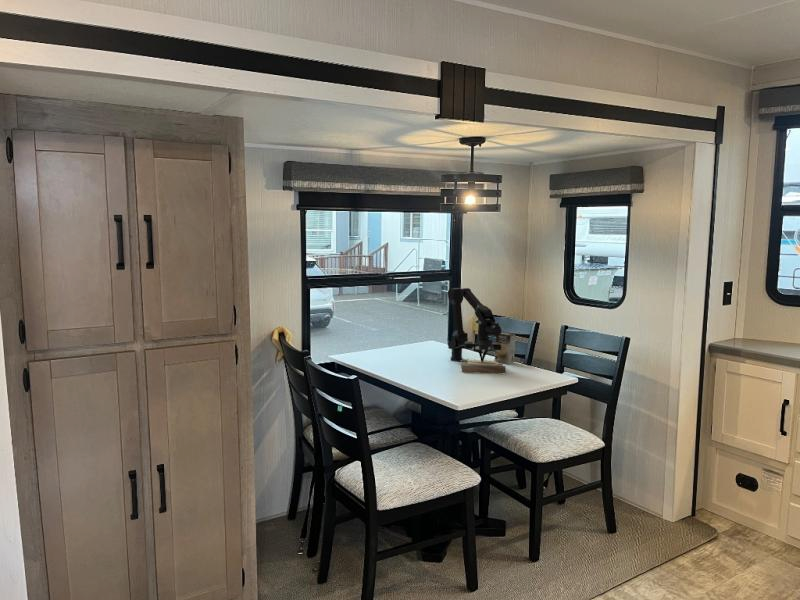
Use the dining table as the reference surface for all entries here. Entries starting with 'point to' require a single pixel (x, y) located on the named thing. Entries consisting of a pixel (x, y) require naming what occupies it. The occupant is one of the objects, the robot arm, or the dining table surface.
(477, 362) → the tan rectangular panel
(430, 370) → the dining table surface
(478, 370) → the floor board
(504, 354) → the coffee box
